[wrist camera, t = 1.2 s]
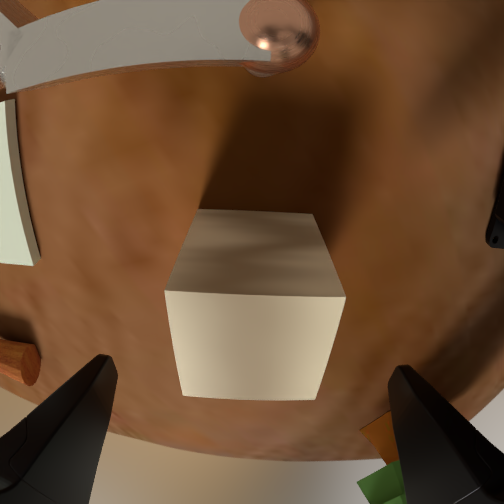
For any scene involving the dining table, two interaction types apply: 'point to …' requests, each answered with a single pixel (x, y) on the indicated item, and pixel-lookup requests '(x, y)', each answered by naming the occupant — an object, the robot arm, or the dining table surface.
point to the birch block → (253, 306)
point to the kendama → (20, 361)
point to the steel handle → (152, 38)
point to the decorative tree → (389, 477)
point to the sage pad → (13, 197)
